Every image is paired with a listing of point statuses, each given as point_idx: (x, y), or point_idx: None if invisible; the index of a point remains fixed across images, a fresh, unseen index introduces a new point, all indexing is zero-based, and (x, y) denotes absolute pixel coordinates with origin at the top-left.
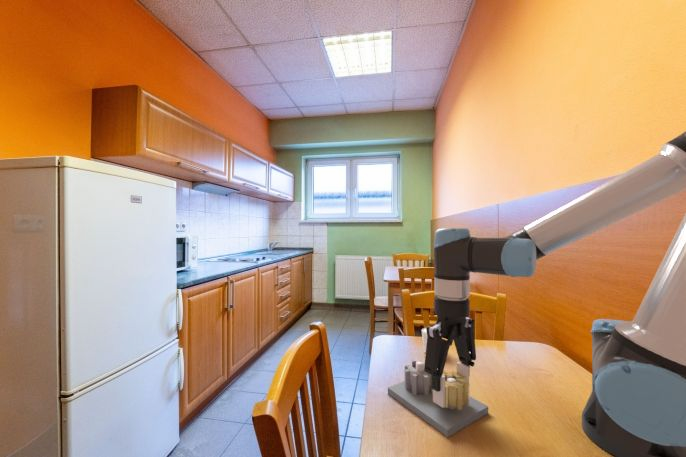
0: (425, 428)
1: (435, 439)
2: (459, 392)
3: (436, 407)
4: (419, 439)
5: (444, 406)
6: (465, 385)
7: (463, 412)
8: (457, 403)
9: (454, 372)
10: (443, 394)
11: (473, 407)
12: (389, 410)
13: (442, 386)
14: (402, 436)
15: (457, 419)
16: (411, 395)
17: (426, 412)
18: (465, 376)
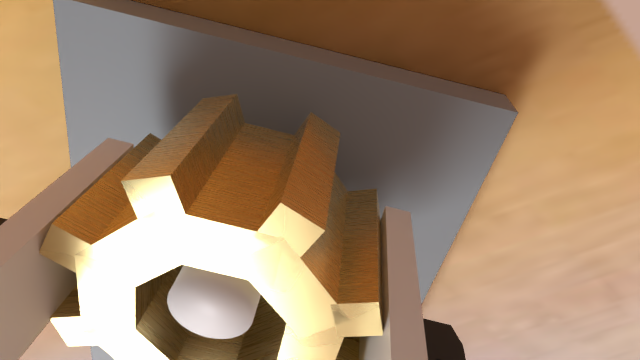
0: (499, 206)
1: (561, 136)
2: (314, 197)
3: None
4: (608, 195)
5: (392, 210)
6: (184, 197)
7: (264, 102)
8: (333, 157)
9: (76, 331)
10: (410, 277)
11: (158, 72)
12: (471, 357)
13: (423, 341)
14: (629, 258)
15: (367, 104)
16: None
17: (428, 254)
18: (39, 248)
